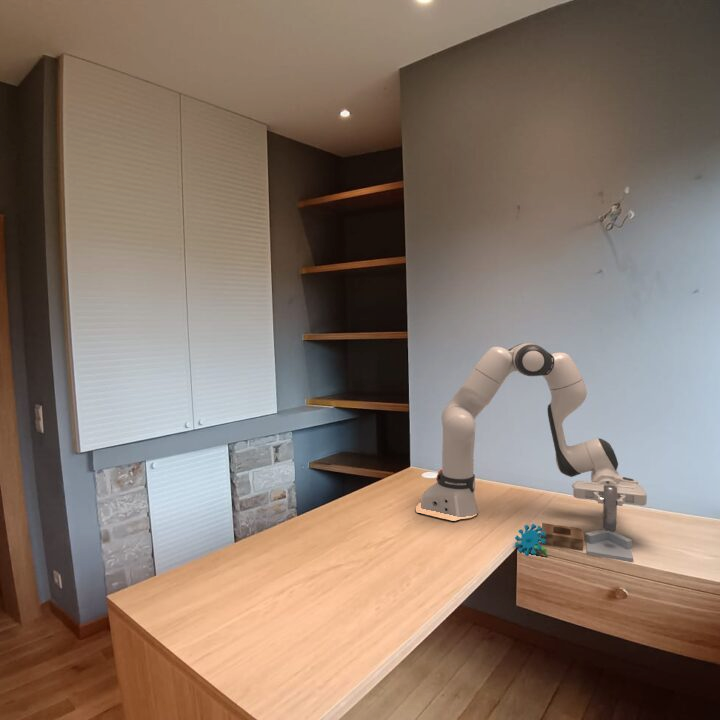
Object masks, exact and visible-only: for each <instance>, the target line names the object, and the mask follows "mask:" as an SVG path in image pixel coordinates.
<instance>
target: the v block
mask: <svg viewBox="0 0 720 720" xmlns="http://www.w3.org/2000/svg"><path fill="white" fill-rule="evenodd" d="M584 535H585V536H584V542H585V544H586V545H585V546H586V547H585V548H586V555H588V556H593V557H594V556H595V557H599V558H600V557H601V558H606V559H611V560H620V561H624V562H625V561H626V562H630V563H631V562H632V563H633V562H634V555H633V551H632V549H633V539H631V538H629V537H626V536H624V535H622V534H620V533H618V532H616V531H614V532H610V531H606V530H604V529H603V528H602V529H599V530H593V531H590V532H586V533H585V534H584Z"/></svg>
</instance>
